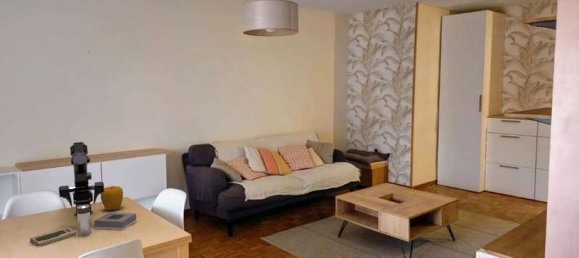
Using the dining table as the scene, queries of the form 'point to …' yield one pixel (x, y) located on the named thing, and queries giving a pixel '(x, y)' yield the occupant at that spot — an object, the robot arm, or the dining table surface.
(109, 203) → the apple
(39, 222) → the dining table surface
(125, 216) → the square plate with hole
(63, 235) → the computer
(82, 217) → the shiny metal cylinder
